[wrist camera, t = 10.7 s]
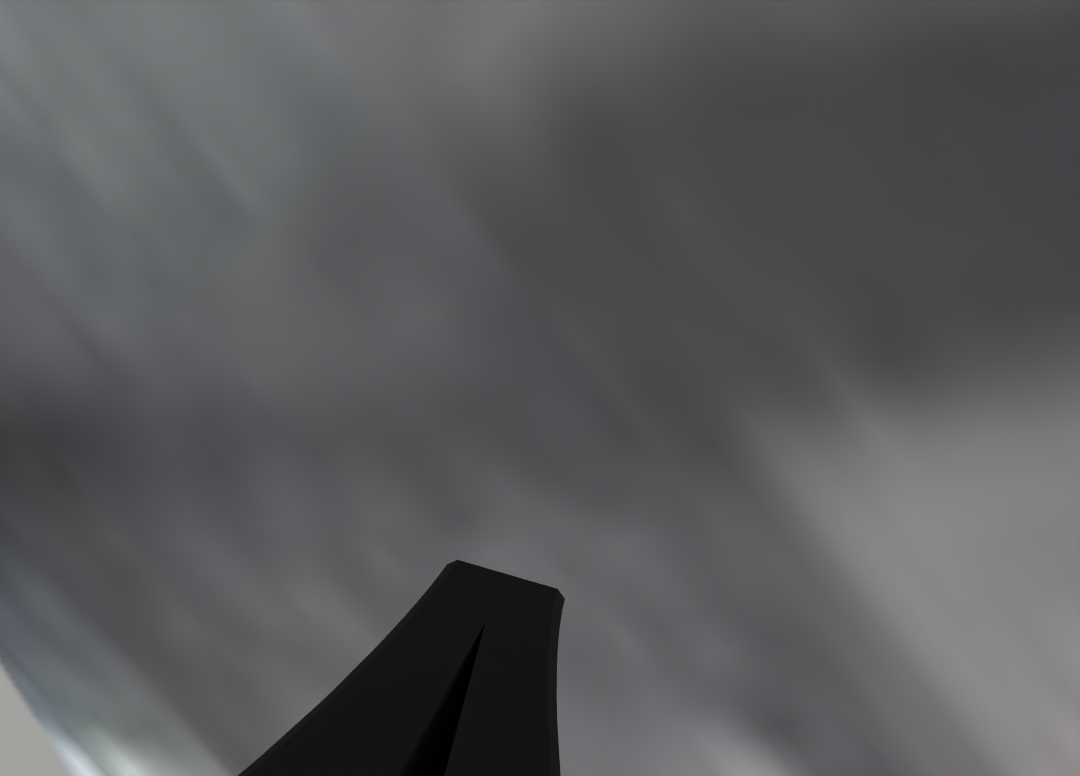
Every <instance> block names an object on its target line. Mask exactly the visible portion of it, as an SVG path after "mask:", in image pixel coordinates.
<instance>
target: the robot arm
mask: <svg viewBox="0 0 1080 776" xmlns="http://www.w3.org/2000/svg"><path fill="white" fill-rule="evenodd" d="M564 601H565V599H564V597H563V596H562V594H561V593H560V592H559V590H558V589H556V588H552V587H549V586H546V585H542V584H539V583H535V582H532V581H528V580H525V579H521V578H518V577H515V576H511V575H508V574H504V573H501V572H497V571H494V570H490V569H487V568H484V567H480V566H477V565H473V564H470V563H466V562H463V561H459V560H456V561H454V562H452V563H449V564H447V565H446V567H445V568H444V569H443V571H442V572H441V573H440V575H439V576H438V577H437V579H436V580H435V581H434V583H433V584H432V585H431V586H430V587H429V589H428V590H427V591H426V592H425V594H424V595H423V596H422V597H421V598H420V599H419V601H418V602H417V603H416V604H415V605H414V607H413V608H412V609H411V610H410V611H409V612H408V613H407V614H406V616H405V617H404V618H403V619H402V620H401V621H400V622H399V623H398V624H397V625H396V627H395V628H394V629H393V630H392V631H391V632H390V633H389V634H388V635H387V636H386V637H385V638H384V640H383V641H382V642H381V643H380V644H379V645H378V646H377V647H376V648H375V649H374V650H373V651H372V652H371V653H370V654H369V655H368V656H367V657H366V658H365V659H364V660H363V661H362V662H361V663H360V664H359V665H358V666H357V667H356V668H355V669H354V670H353V671H352V672H351V673H350V674H349V675H348V676H347V677H346V678H345V679H344V680H343V681H342V682H341V683H340V684H339V685H338V686H337V687H336V688H335V689H334V690H333V691H332V692H331V693H330V694H329V695H328V696H327V697H326V698H325V699H324V700H323V701H321V702H320V703H319V704H318V705H317V706H316V707H315V708H314V709H313V710H312V711H311V712H309V713H308V714H307V715H306V716H305V717H304V718H303V719H302V720H301V721H299V722H298V723H297V724H296V725H295V726H294V727H293V728H292V729H291V730H289V731H288V732H287V733H286V734H285V735H284V736H283V737H282V738H281V739H279V740H278V741H277V742H276V743H275V744H274V745H273V746H272V747H271V748H269V749H268V750H267V751H266V752H265V753H264V754H263V755H262V756H261V757H259V758H258V759H257V760H256V761H255V762H254V763H252V764H251V765H250V766H249V767H248V768H246V769H245V770H244V771H243V772H242V773H240V774H239V775H238V776H560V761H559V744H558V728H557V696H556V693H557V651H558V637H559V628H560V621H561V614H562V609H563V604H564Z"/></svg>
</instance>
